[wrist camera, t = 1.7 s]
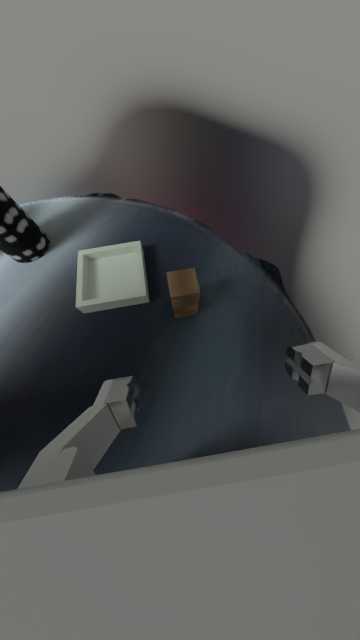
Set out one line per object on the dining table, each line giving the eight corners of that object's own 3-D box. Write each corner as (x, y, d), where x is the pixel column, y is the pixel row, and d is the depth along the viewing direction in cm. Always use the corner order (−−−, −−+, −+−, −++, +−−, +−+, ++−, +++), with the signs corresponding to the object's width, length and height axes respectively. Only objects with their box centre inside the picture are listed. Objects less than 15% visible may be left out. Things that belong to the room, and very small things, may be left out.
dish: (84, 313, 32) (75, 307, 29) (85, 260, 36) (78, 251, 34) (149, 302, 32) (146, 295, 30) (143, 250, 36) (140, 240, 34)
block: (174, 318, 31) (170, 297, 23) (171, 298, 32) (166, 272, 25) (197, 314, 31) (200, 292, 23) (192, 294, 32) (194, 267, 25)
